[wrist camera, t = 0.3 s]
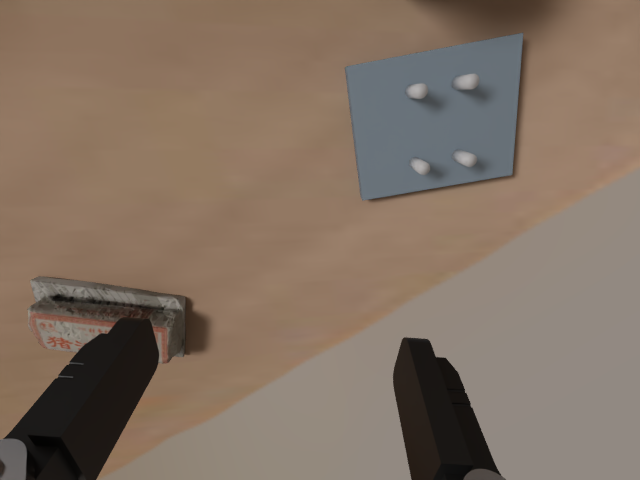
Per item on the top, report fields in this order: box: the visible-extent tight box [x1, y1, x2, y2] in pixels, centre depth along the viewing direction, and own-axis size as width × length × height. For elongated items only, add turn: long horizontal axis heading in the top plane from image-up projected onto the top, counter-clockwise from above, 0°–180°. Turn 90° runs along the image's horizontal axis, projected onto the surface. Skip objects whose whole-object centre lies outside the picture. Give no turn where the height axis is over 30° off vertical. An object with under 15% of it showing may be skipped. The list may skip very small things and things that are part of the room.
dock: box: [345, 33, 523, 200], centre depth 31 cm, size 13×16×4 cm
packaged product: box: [27, 276, 186, 363], centre depth 40 cm, size 18×5×10 cm
